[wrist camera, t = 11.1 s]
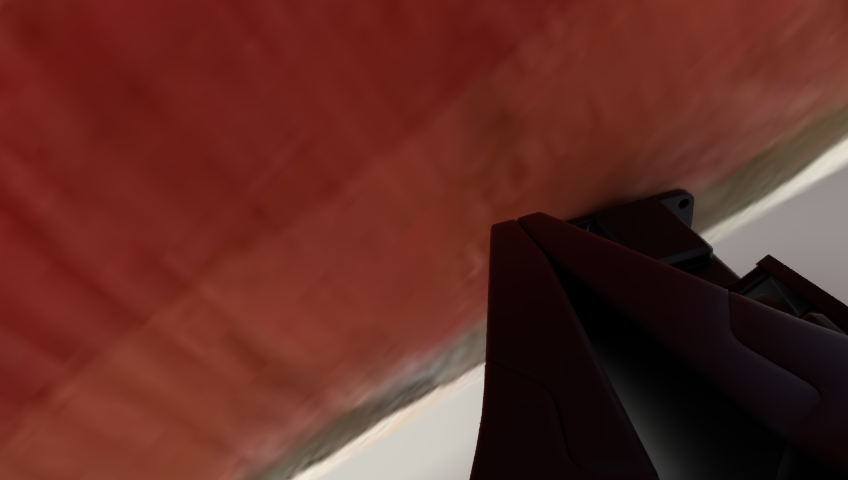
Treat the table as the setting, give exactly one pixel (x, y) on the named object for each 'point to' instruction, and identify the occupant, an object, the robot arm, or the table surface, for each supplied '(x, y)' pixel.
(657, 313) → the robot arm
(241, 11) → the table surface
